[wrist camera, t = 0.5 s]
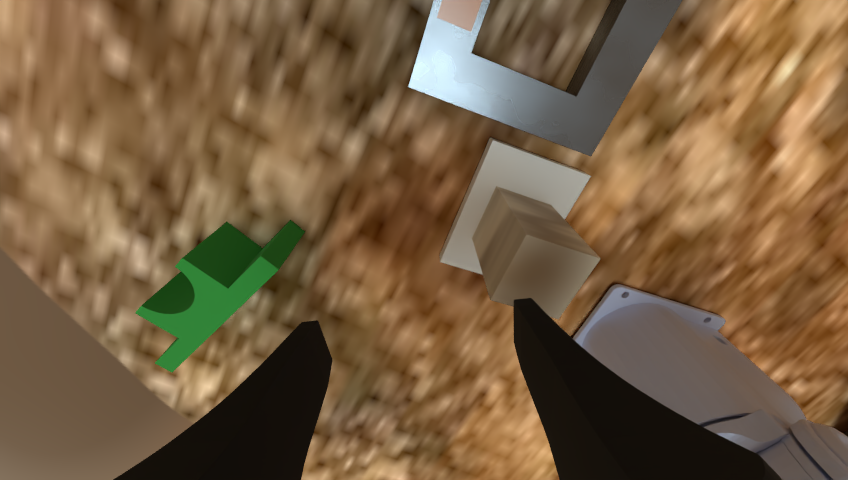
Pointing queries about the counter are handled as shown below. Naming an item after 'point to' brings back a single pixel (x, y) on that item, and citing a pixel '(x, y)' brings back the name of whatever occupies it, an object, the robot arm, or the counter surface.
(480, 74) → the plate
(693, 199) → the counter surface
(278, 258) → the pipe clamp
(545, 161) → the white rectangular plate
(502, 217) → the birch peg
